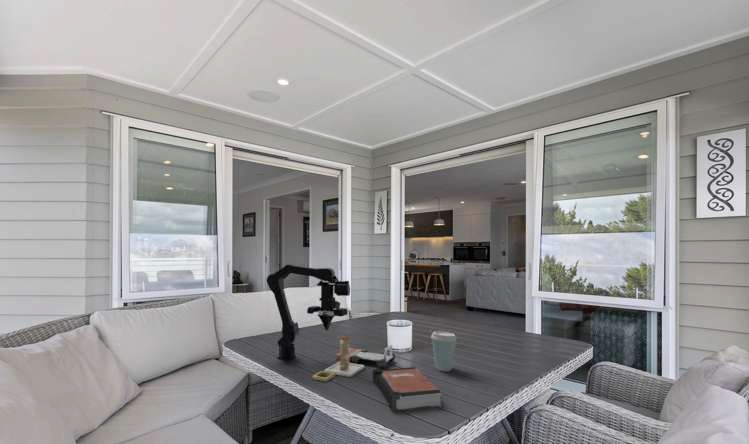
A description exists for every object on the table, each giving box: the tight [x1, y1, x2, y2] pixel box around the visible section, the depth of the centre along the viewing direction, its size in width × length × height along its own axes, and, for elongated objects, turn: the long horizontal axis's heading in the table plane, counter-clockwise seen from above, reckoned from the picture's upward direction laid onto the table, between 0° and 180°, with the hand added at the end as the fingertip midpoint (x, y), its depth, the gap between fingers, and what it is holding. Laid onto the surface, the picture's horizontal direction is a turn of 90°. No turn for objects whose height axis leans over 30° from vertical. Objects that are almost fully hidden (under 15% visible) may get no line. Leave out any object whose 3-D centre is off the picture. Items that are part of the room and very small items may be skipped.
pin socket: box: [311, 370, 336, 383], centre depth 143 cm, size 6×6×1 cm
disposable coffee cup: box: [430, 331, 458, 372], centre depth 154 cm, size 11×11×15 cm
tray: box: [323, 361, 365, 378], centre depth 152 cm, size 12×12×1 cm
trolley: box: [350, 344, 396, 370], centre depth 162 cm, size 17×12×8 cm
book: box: [372, 366, 443, 412], centre depth 129 cm, size 26×18×5 cm
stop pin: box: [339, 335, 350, 371], centre depth 152 cm, size 4×4×13 cm
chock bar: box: [335, 347, 363, 363], centre depth 167 cm, size 7×12×4 cm, turn 155°
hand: (327, 330), depth 168 cm, fingers closed
